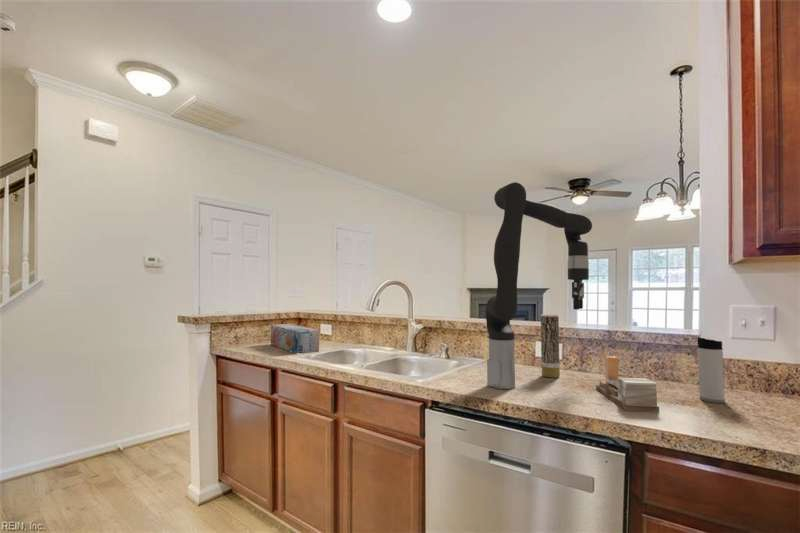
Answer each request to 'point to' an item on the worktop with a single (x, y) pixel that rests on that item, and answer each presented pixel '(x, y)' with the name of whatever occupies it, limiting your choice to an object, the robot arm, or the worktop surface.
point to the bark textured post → (550, 345)
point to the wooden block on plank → (632, 394)
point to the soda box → (295, 338)
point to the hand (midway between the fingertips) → (578, 309)
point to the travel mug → (711, 370)
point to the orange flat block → (611, 371)
